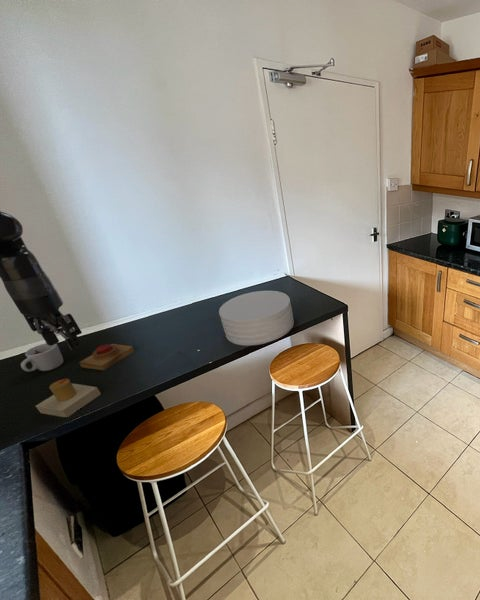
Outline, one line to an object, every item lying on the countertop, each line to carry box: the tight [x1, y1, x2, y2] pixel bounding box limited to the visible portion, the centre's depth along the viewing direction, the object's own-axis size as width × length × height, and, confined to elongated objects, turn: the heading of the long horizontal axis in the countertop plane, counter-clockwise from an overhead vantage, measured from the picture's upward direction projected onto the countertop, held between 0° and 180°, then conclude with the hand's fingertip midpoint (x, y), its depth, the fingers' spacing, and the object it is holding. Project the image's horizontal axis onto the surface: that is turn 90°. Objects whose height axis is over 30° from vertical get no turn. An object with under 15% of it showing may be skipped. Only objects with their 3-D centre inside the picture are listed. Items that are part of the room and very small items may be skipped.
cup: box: [20, 342, 64, 373], centre depth 112 cm, size 11×8×8 cm
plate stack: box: [218, 290, 295, 347], centre depth 136 cm, size 28×28×12 cm
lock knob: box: [49, 377, 77, 401], centre depth 96 cm, size 4×4×5 cm
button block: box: [78, 343, 135, 371], centre depth 118 cm, size 12×10×4 cm
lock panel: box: [35, 382, 102, 419], centre depth 98 cm, size 10×10×3 cm
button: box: [95, 343, 112, 354], centre depth 117 cm, size 4×4×2 cm
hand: (65, 346), depth 84 cm, fingers open, 8 cm apart
